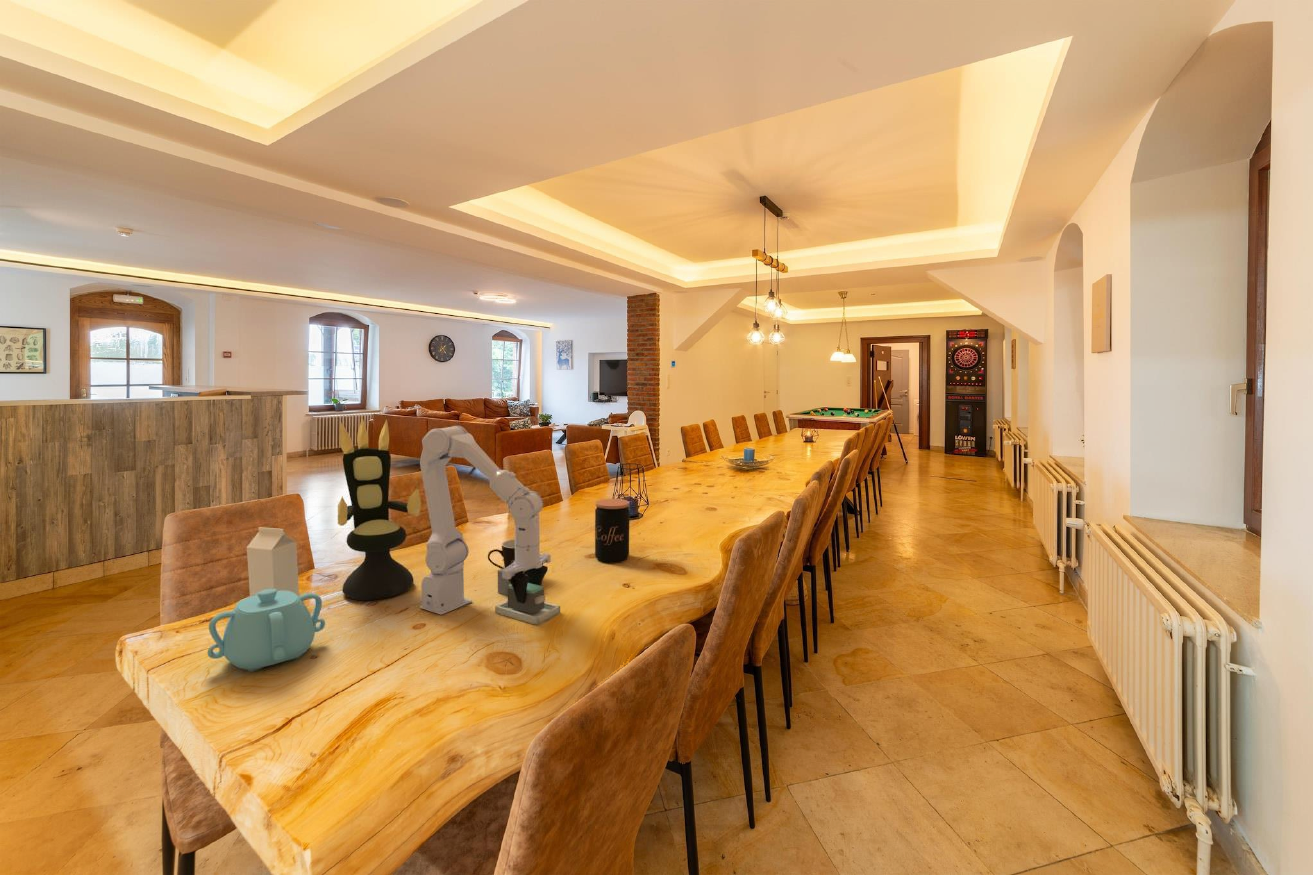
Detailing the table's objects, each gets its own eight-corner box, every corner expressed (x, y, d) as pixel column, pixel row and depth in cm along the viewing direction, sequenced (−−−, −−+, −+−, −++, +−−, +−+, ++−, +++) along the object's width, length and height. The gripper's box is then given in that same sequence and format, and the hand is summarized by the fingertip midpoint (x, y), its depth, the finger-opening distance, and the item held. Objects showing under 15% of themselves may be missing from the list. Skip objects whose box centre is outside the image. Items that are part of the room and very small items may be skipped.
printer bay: (523, 600, 142) (523, 576, 141) (497, 593, 146) (496, 569, 145) (542, 591, 148) (542, 568, 147) (516, 584, 152) (516, 562, 152)
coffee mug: (537, 573, 161) (537, 539, 160) (527, 584, 153) (527, 548, 152) (498, 571, 162) (498, 537, 161) (486, 582, 154) (486, 546, 153)
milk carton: (275, 610, 133) (270, 533, 131) (250, 608, 135) (245, 531, 133) (299, 599, 140) (295, 525, 138) (275, 596, 142) (271, 523, 140)
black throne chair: (343, 610, 134) (335, 423, 129) (326, 583, 151) (318, 417, 146) (425, 592, 146) (420, 420, 141) (400, 569, 163) (395, 415, 158)
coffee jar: (589, 561, 172) (589, 504, 170) (602, 551, 182) (603, 497, 180) (621, 565, 169) (622, 507, 167) (633, 555, 179) (634, 500, 177)
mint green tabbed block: (536, 615, 130) (535, 592, 130) (507, 607, 135) (507, 585, 134) (547, 609, 134) (547, 586, 133) (519, 601, 138) (519, 580, 138)
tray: (537, 625, 128) (537, 618, 127) (495, 612, 134) (495, 606, 134) (560, 612, 135) (560, 606, 134) (519, 601, 141) (519, 595, 141)
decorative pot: (196, 674, 105) (191, 604, 104) (266, 635, 121) (262, 574, 119) (275, 681, 103) (270, 610, 101) (335, 640, 119) (332, 579, 117)
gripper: (517, 554, 124) (518, 613, 126) (560, 539, 137) (560, 592, 138) (495, 549, 128) (495, 606, 129) (538, 534, 140) (538, 586, 142)
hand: (527, 599), depth 134 cm, fingers closed on mint green tabbed block, 4 cm apart
